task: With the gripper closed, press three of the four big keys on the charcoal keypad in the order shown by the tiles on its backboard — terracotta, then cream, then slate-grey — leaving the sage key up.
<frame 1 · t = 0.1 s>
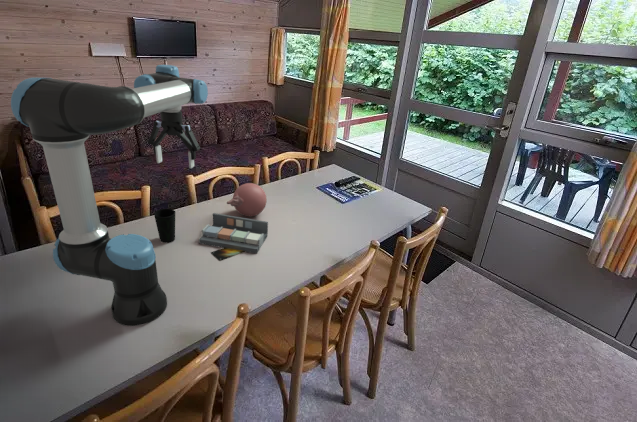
hand: (175, 164, 143), 28 cm above the table, fingers open, 13 cm apart
keypad: (234, 239, 150), on the table
key terracotta: (226, 233, 147), point 3 cm above the table, slide at 0.0 cm
key slate: (212, 231, 148), point 3 cm above the table, slide at 0.0 cm
key cream: (253, 238, 146), point 3 cm above the table, slide at 0.0 cm
key sage: (239, 236, 147), point 3 cm above the table, slide at 0.0 cm
cup: (167, 239, 145), on the table
smartphone: (232, 252, 143), on the table
balloon: (245, 216, 169), on the table
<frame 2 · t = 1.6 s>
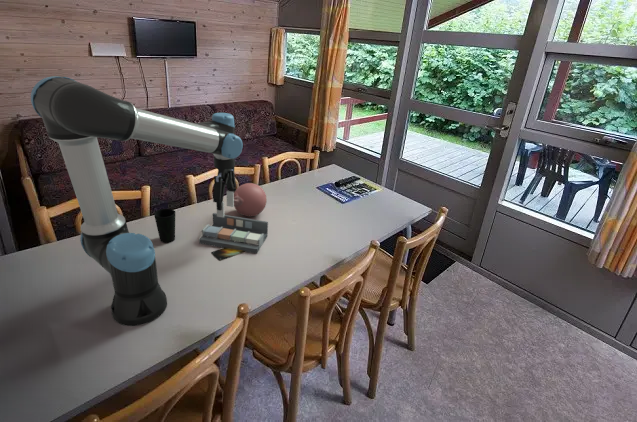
hand: (225, 211, 143), 13 cm above the table, fingers open, 9 cm apart
nothing on the table moved.
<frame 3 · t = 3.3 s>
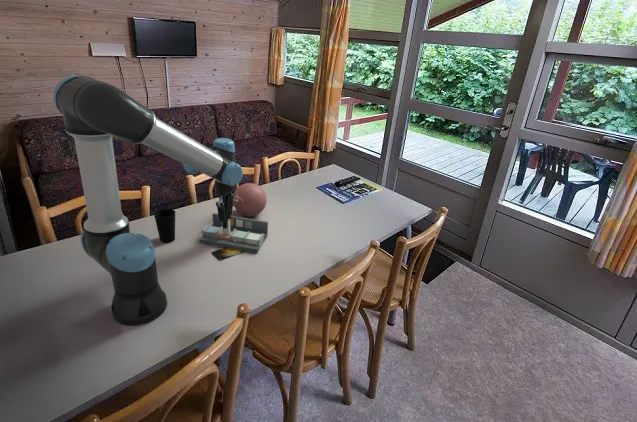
hand: (226, 233, 147), 3 cm above the table, fingers closed
key terracotta: (226, 236, 148), point 2 cm above the table, slide at 1.1 cm, touching gripper
everything else where it was.
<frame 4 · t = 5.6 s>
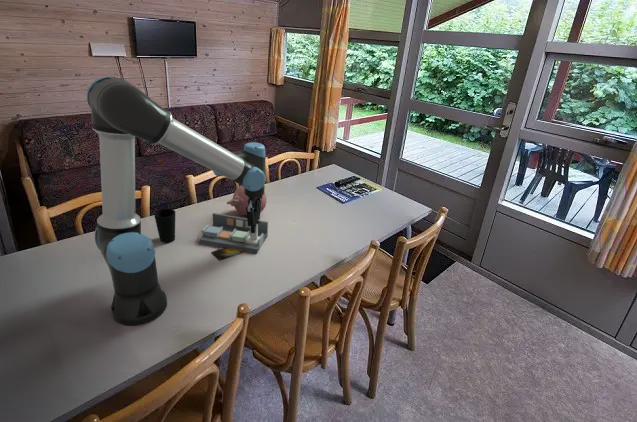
hand: (253, 238, 146), 3 cm above the table, fingers closed
key terracotta: (226, 236, 148), point 2 cm above the table, slide at 1.2 cm
key cream: (253, 240, 147), point 2 cm above the table, slide at 1.1 cm, touching gripper
everything else where it was.
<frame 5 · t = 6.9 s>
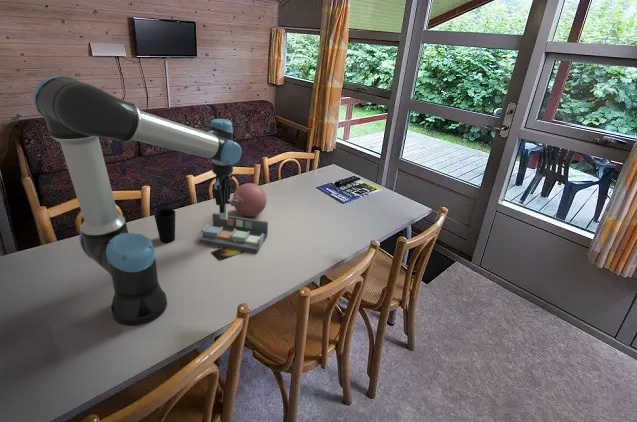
hand: (223, 218, 144), 10 cm above the table, fingers closed
key cream: (253, 241, 147), point 2 cm above the table, slide at 1.2 cm
everything else where it was.
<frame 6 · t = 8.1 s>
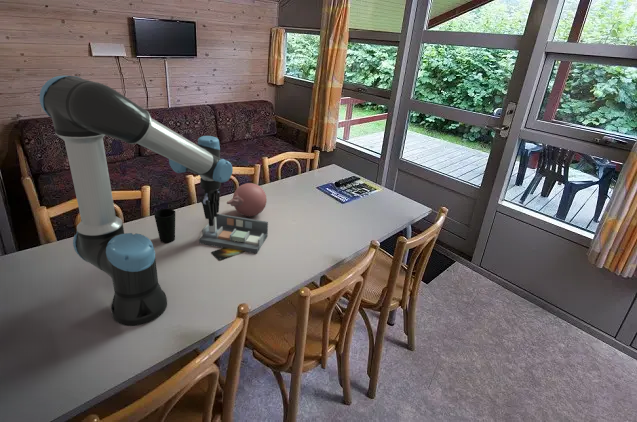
hand: (212, 231, 148), 3 cm above the table, fingers closed
key slate: (212, 233, 148), point 2 cm above the table, slide at 1.1 cm, touching gripper
everything else where it was.
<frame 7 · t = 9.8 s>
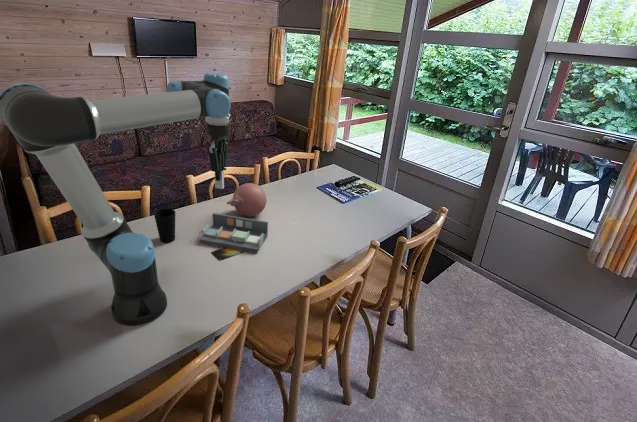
hand: (219, 187, 131), 26 cm above the table, fingers closed
key slate: (212, 234, 149), point 2 cm above the table, slide at 1.2 cm
everything else where it was.
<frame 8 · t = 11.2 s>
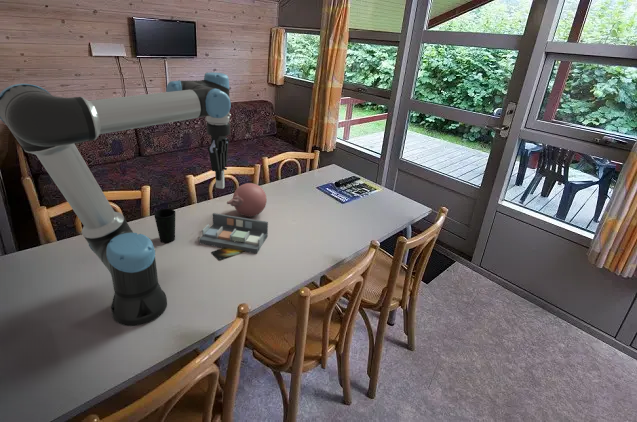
hand: (220, 187, 131), 26 cm above the table, fingers closed
nothing on the table moved.
at the end: key terracotta slide at 1.2 cm; key cream slide at 1.2 cm; key slate slide at 1.2 cm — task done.
